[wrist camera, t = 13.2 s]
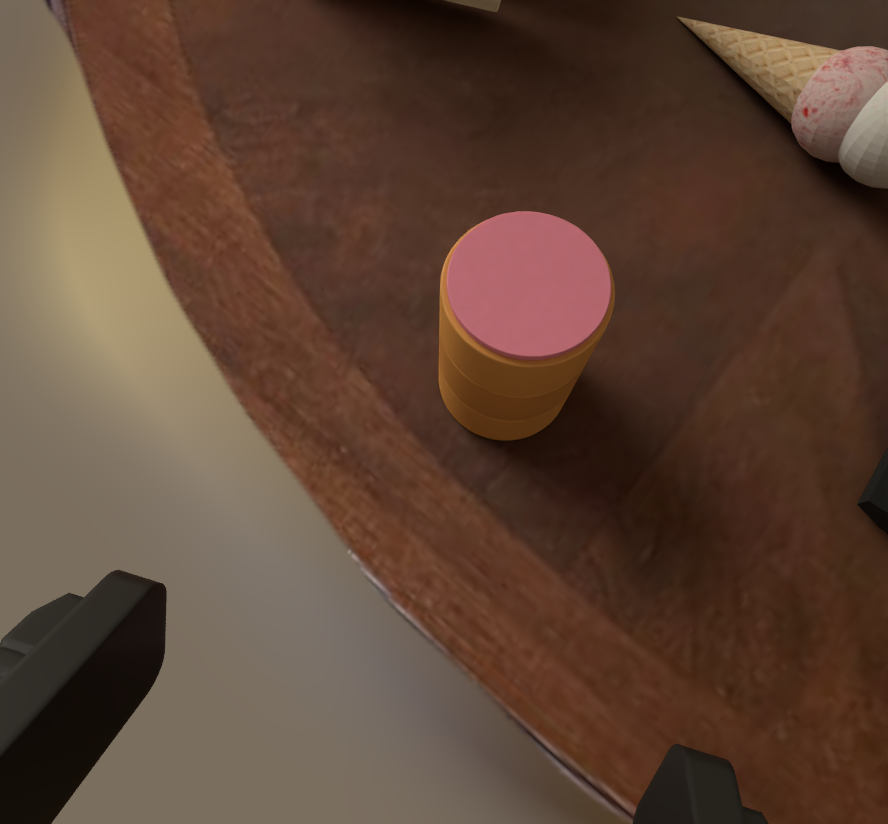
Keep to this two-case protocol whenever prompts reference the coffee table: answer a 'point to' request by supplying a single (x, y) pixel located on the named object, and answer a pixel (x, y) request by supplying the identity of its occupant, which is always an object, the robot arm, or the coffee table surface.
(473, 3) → the drawer
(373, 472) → the coffee table surface
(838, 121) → the ice cream cone
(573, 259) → the pink-topped orange cylinder
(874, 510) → the remote control
